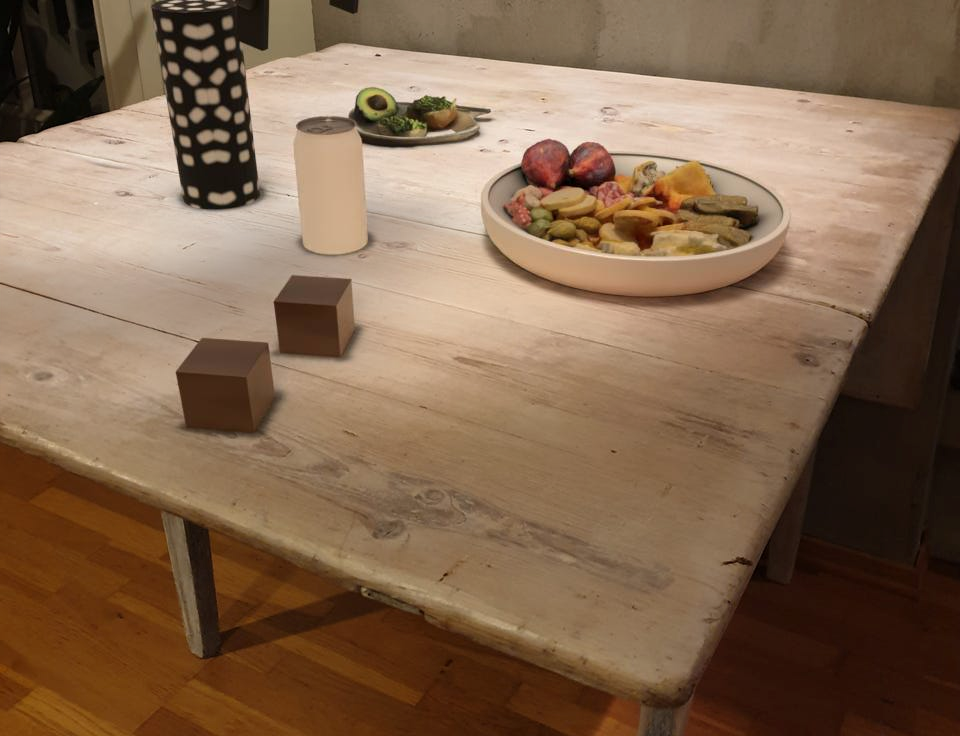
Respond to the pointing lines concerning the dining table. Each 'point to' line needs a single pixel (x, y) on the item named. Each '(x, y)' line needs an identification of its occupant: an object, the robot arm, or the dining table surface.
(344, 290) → the far block
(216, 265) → the dining table surface
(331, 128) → the can
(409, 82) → the dining table surface
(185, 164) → the spotted tube
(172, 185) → the dining table surface
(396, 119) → the salad plate
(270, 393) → the near block
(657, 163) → the bowl
